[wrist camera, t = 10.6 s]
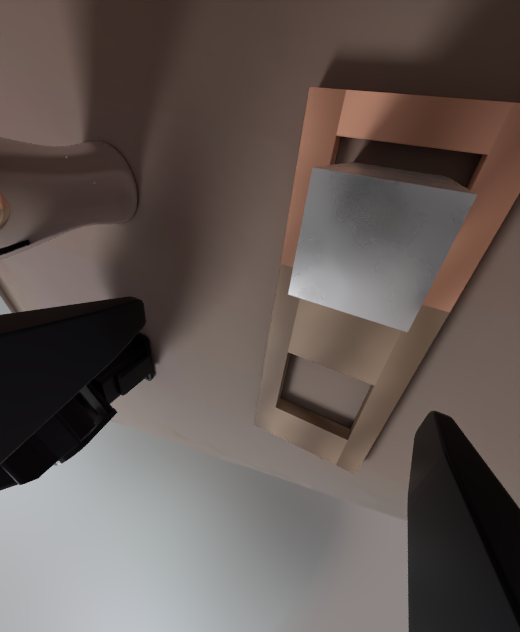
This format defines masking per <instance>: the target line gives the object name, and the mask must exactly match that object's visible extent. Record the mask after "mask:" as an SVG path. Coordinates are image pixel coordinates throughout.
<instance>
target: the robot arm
mask: <svg viewBox="0 0 520 632" xmlns="http://www.w3.org/2000/svg"><path fill="white" fill-rule="evenodd" d="M145 322H146V318H145V310H144V304H143V302H142V301H141V300H140V299H137V298H135V297H123V298H116V299H109V300H102V301H95V302H88V303H81V304H74V305H67V306H60V307H53V308H46V309H39V310H31V311H24V312H17V313H11V314H3V315H0V490H3V489H6V488H8V487H11V486H14V485H17V484H19V485H22V484H25V483H27V482H30V481H33V480H35V479H37V478H39V477H40V476H41V475H42V474H43V473H44V472H46V471H47V470H48V469H49V468H50V467H51V466H53V465H59V464H62V463H63V462H65V461H67V460H68V459H70V458H71V457H72V456H74V455H75V454H76V453H77V452H79V451H80V450H81V449H82V448H83V447H85V446H86V445H87V444H88V443H89V442H90V441H91V440H92V438H93V437H94V436H95V435H96V434H97V433H98V432H99V431H100V430H101V429H102V428H103V427H104V426H105V425H106V424H107V423H108V422H109V421H110V420H111V418H112V417H113V416H114V415H115V414H116V413H117V411H116V410H115V409H114V408H112V407H111V405H110V403H111V402H113V401H114V400H115V399H116V398H117V397H119V396H120V395H125V394H127V393H128V392H129V391H130V390H131V389H132V388H134V387H135V386H136V385H137V384H138V383H140V382H141V381H142V380H143V379H146V380H149V381H151V380H152V379H153V378H154V376H153V369H152V361H151V354H150V347H149V340H148V338H147V337H146V336H144V335H141V334H139V332H140V330H141V329H142V328H143V327H144V325H145ZM408 601H409V602H408V604H409V605H408V606H409V632H520V508H519V507H518V506H517V504H516V503H515V502H514V500H513V499H512V498H511V496H510V495H509V494H508V492H507V491H506V490H505V488H504V487H503V486H502V484H501V483H500V482H499V480H498V479H497V478H496V476H495V475H494V473H493V472H492V471H491V469H490V468H489V467H488V465H487V464H486V463H485V461H484V460H483V459H482V457H481V456H480V455H479V453H478V452H477V451H476V449H475V448H474V447H473V445H472V444H471V443H470V441H469V440H468V439H467V437H466V436H465V435H464V433H463V432H462V431H461V429H460V428H459V427H458V425H457V424H456V422H455V421H454V420H453V419H452V418H451V417H450V416H448V415H445V414H442V413H440V412H437V411H431V412H430V413H429V414H428V415H427V416H426V418H425V419H424V421H423V422H422V424H421V425H420V427H419V428H418V430H417V432H416V434H415V438H414V446H413V454H412V463H411V472H410V481H409V490H408Z"/></svg>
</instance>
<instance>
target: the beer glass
mask: <svg viewBox="0 0 520 632" xmlns="http://www.w3.org/2000/svg"><path fill="white" fill-rule="evenodd" d="M137 201H138V195H137V187H136V183H135V179H134V176H133V174H132V172H131V169H130V167H129V166H128V164H127V162H126V161H125V159H124V158H123V157H122V155H121V154H120V153H119V152H118V151H117V150H116V149H115V148H113V147H112V146H111V145H109V144H107V143H104V142H100V141H90V142H85V143H80V144H75V145H69V146H44V145H37V144H32V143H26V142H21V141H16V140H12V139H7V138H2V137H0V260H3V259H5V258H8V257H11V256H13V255H16V254H19V253H21V252H24V251H26V250H29V249H31V248H33V247H35V246H38V245H40V244H42V243H45V242H47V241H49V240H51V239H53V238H56V237H58V236H60V235H62V234H65V233H67V232H70V231H72V230H75V229H78V228H81V227H85V226H91V225H113V224H123V223H126V222H128V221H129V220H130V219H131V218H132V217H133V216H134V214H135V211H136V208H137Z"/></svg>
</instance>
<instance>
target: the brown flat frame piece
mask: <svg viewBox="0 0 520 632" xmlns="http://www.w3.org/2000/svg"><path fill="white" fill-rule="evenodd" d="M341 137H349V138H356V139H364V140H372V141H380V142H388V143H395V144H403V145H411V146H419V147H427V148H434V149H442V150H450V151H458V152H466V153H473V154H481V155H482V156H481V158H480V160H479V163H478V165H477V167H476V169H475V171H474V173H473V175H472V177H471V179H470V181H469V183H468V185H467V189H469V190H471V191H472V192H474V193H476V194H477V197H476V199H475V201H474V203H473V205H472V207H471V209H470V211H469V212H468V214H467V216H466V218H465V220H464V222H463V224H462V226H461V228H460V230H459V232H458V234H457V236H456V238H455V240H454V242H453V244H452V246H451V248H450V250H449V252H448V254H447V256H446V258H445V260H444V262H443V264H442V266H441V268H440V270H439V272H438V274H437V276H436V278H435V280H434V282H433V284H432V286H431V288H430V290H429V292H428V294H427V296H426V297H425V299H424V301H423V303H422V305H421V307H420V309H419V311H418V313H417V315H416V317H415V319H414V321H413V323H412V325H411V327H410V329H409V331H408V332H405V331H402V330H398V329H395V328H392V327H389V326H386V325H383V324H380V323H376V322H373V321H370V320H367V319H364V318H361V317H358V316H354V315H351V314H348V313H345V312H342V311H339V310H335V309H332V308H329V307H326V306H323V305H320V304H317V303H313V302H310V301H307V300H304V299H301V298H298V297H295V296H291V295H288V292H289V287H290V281H291V276H292V271H293V266H294V261H295V255H296V250H297V245H298V240H299V235H300V229H301V224H302V219H303V214H304V209H305V203H306V198H307V193H308V188H309V183H310V177H311V172H312V167H319V166H326V165H334V164H335V160H336V156H337V151H338V147H339V143H340V138H341ZM519 193H520V103H514V102H501V101H488V100H475V99H462V98H449V97H436V96H423V95H409V94H396V93H383V92H370V91H357V90H344V89H331V88H318V87H310V88H309V94H308V100H307V106H306V112H305V118H304V125H303V131H302V137H301V143H300V149H299V155H298V161H297V167H296V173H295V179H294V185H293V191H292V197H291V203H290V209H289V215H288V221H287V227H286V233H285V239H284V245H283V251H282V257H281V263H280V269H279V275H278V281H277V287H276V294H275V300H274V306H273V312H272V318H271V324H270V330H269V336H268V342H267V348H266V354H265V360H264V366H263V372H262V378H261V384H260V390H259V396H258V402H257V408H256V414H255V420H254V425H256V426H258V427H260V428H262V429H264V430H266V431H268V432H270V433H272V434H274V435H276V436H278V437H280V438H282V439H284V440H286V441H288V442H290V443H292V444H294V445H296V446H298V447H300V448H302V449H304V450H307V451H309V452H311V453H313V454H315V455H317V456H319V457H321V458H323V459H325V460H327V461H329V462H331V463H333V464H335V465H337V466H339V467H341V468H343V469H345V470H347V471H349V472H351V473H353V474H356V472H357V471H358V469H359V467H360V466H361V464H362V462H363V460H364V459H365V457H366V455H367V454H368V452H369V450H370V448H371V447H372V445H373V443H374V442H375V440H376V438H377V436H378V435H379V433H380V431H381V430H382V428H383V426H384V424H385V423H386V421H387V419H388V418H389V416H390V414H391V412H392V411H393V409H394V407H395V406H396V404H397V402H398V400H399V399H400V397H401V395H402V394H403V392H404V390H405V388H406V387H407V385H408V383H409V382H410V380H411V378H412V376H413V375H414V373H415V371H416V370H417V368H418V366H419V364H420V363H421V361H422V359H423V358H424V356H425V354H426V352H427V351H428V349H429V347H430V346H431V344H432V342H433V340H434V339H435V337H436V335H437V334H438V332H439V330H440V328H441V327H442V325H443V323H444V322H445V320H446V318H447V316H448V315H449V313H450V311H451V310H452V308H453V306H454V304H455V303H456V301H457V299H458V298H459V296H460V294H461V292H462V291H463V289H464V287H465V286H466V284H467V282H468V280H469V279H470V277H471V275H472V274H473V272H474V270H475V268H476V267H477V265H478V263H479V262H480V260H481V258H482V256H483V255H484V253H485V251H486V250H487V248H488V246H489V245H490V243H491V241H492V239H493V238H494V236H495V234H496V233H497V231H498V229H499V227H500V226H501V224H502V222H503V221H504V219H505V217H506V215H507V214H508V212H509V210H510V209H511V207H512V205H513V203H514V202H515V200H516V198H517V197H518V195H519ZM291 354H294V355H296V356H299V357H302V358H304V359H307V360H309V361H312V362H315V363H317V364H320V365H322V366H325V367H327V368H330V369H333V370H335V371H338V372H340V373H343V374H346V375H348V376H351V377H353V378H356V379H358V380H361V381H364V382H366V383H369V384H371V387H370V389H369V391H368V393H367V395H366V397H365V399H364V402H363V404H362V406H361V408H360V410H359V412H358V414H357V416H356V418H355V420H354V422H353V424H352V426H351V429H349V428H347V427H344V426H342V425H340V424H338V423H335V422H333V421H331V420H329V419H326V418H324V417H322V416H320V415H317V414H315V413H313V412H311V411H308V410H306V409H304V408H302V407H299V406H297V405H295V404H293V403H290V402H288V401H286V400H284V399H281V394H282V389H283V385H284V381H285V376H286V372H287V368H288V363H289V359H290V355H291Z"/></svg>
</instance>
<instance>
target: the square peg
mask: <svg viewBox="0 0 520 632" xmlns="http://www.w3.org/2000/svg"><path fill="white" fill-rule="evenodd" d="M476 197H477V194H476V193H474V192H472V191H471V190H469V189H467V188H466V187H464V186H462V185H460V184H459V183H457V182H455V181H454V180H452V179H450V178H449V177H447V176H443V175H436V174H430V173H423V172H417V171H410V170H404V169H397V168H390V167H384V166H377V165H371V164H364V163H357V162H349V163H341V164H334V165H326V166H319V167H312V172H311V177H310V183H309V188H308V193H307V198H306V203H305V209H304V214H303V219H302V224H301V229H300V235H299V240H298V245H297V250H296V255H295V261H294V266H293V271H292V276H291V281H290V287H289V292H288V295H291V296H295V297H298V298H301V299H304V300H307V301H310V302H313V303H317V304H320V305H323V306H326V307H329V308H332V309H335V310H339V311H342V312H345V313H348V314H351V315H354V316H358V317H361V318H364V319H367V320H370V321H373V322H376V323H380V324H383V325H386V326H389V327H392V328H395V329H398V330H402V331H405V332H408V331H409V329H410V327H411V325H412V323H413V321H414V319H415V317H416V315H417V313H418V311H419V309H420V307H421V305H422V303H423V301H424V299H425V297H426V296H427V294H428V292H429V290H430V288H431V286H432V284H433V282H434V280H435V278H436V276H437V274H438V272H439V270H440V268H441V266H442V264H443V262H444V260H445V258H446V256H447V254H448V252H449V250H450V248H451V246H452V244H453V242H454V240H455V238H456V236H457V234H458V232H459V230H460V228H461V226H462V224H463V222H464V220H465V218H466V216H467V214H468V212H469V211H470V209H471V207H472V205H473V203H474V201H475V199H476Z"/></svg>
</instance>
